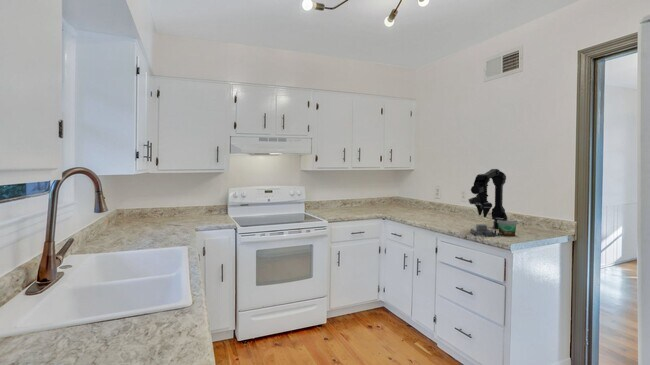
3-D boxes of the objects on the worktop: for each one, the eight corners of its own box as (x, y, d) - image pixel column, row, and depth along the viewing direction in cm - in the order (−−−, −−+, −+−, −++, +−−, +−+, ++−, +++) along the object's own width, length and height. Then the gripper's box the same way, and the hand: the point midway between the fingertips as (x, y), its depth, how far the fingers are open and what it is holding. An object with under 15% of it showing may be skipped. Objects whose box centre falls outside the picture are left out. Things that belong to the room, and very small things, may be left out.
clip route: (495, 233, 211) (495, 229, 210) (502, 237, 200) (502, 233, 200) (477, 233, 212) (477, 229, 212) (483, 236, 201) (483, 232, 201)
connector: (484, 233, 213) (484, 224, 212) (486, 234, 208) (487, 225, 207) (476, 233, 213) (476, 224, 213) (478, 234, 208) (478, 225, 208)
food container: (500, 236, 202) (500, 221, 202) (496, 234, 208) (496, 219, 208) (520, 237, 200) (521, 221, 200) (516, 235, 206) (517, 219, 206)
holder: (487, 232, 215) (487, 228, 214) (493, 235, 205) (493, 231, 205) (470, 232, 216) (470, 228, 216) (475, 235, 206) (475, 231, 206)
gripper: (465, 192, 221) (465, 214, 222) (474, 194, 203) (474, 218, 203) (482, 191, 220) (482, 214, 220) (492, 194, 201) (492, 218, 202)
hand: (482, 216), depth 212 cm, fingers open, 9 cm apart
